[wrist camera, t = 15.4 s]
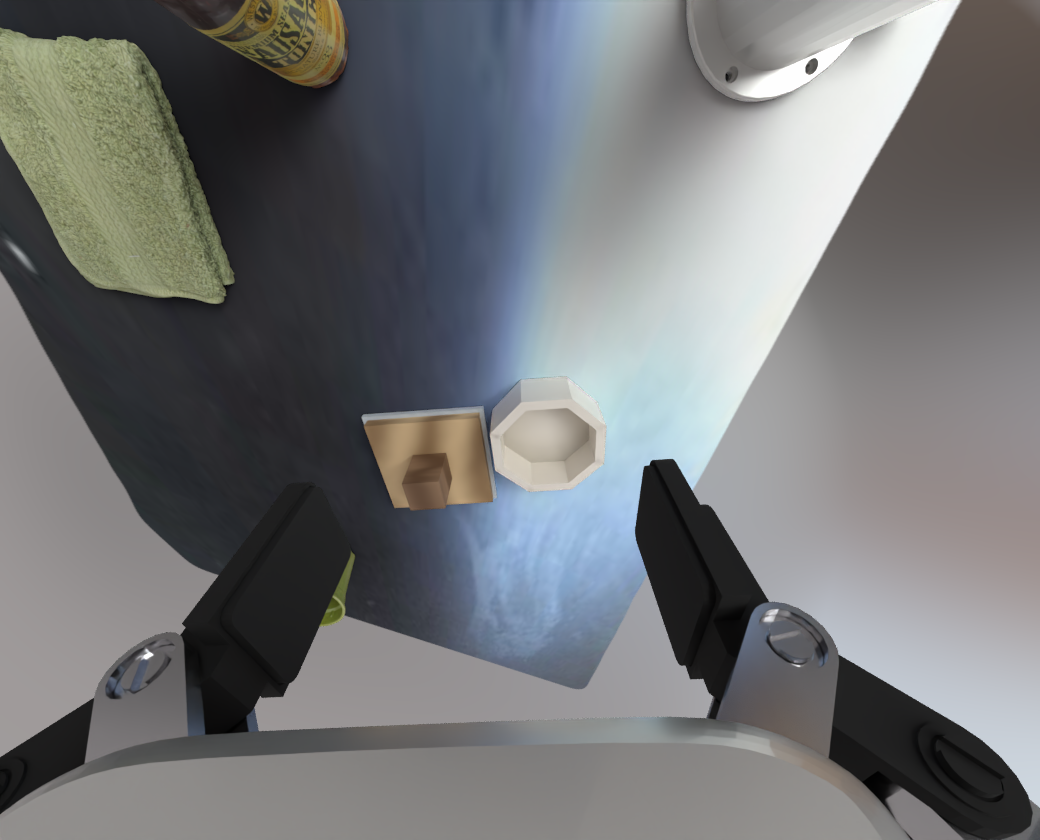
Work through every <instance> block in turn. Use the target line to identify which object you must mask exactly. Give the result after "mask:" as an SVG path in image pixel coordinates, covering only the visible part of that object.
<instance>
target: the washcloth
mask: <svg viewBox="0 0 1040 840" xmlns="http://www.w3.org/2000/svg"><path fill="white" fill-rule="evenodd" d="M161 86H162V83H161V80H160V78H159V75H158V73H157V71H156V70H155V69H154V68H153V67H152V65H151V64H150V62H149V60H148V58H147V57H146V56H145V54H144V53H143V52H142V51H141V50H140V48H139V47H138V46H137V45H135V44H134V43H129V42H128V41H126V40H116V39H112V40H109V41H108V40H104V39H97V38H93V39H89V41H84V40H83V39H80V38H77V37H71V36H68V37H66V36H62V37H57V41H55V40H49V39H37V38H35V39H34V38H29V37H27V36H26V35H24V34H22V33H19V32H13V31H11V30H9V29H1V28H0V136H1V139H2V141H3V143H4V145H5V147H6V149H7V151H8V153H9V154H10V155H11V157H12V158H13V160H14V161H15V163H16V165H17V166H18V168H19V170H20V172H21V174H22V175H23V177H24V179H25V180H26V182H27V184H28V185H29V187H30V189H31V190H32V192H33V194H34V195H35V197H36V199H37V201H38V202H39V204H40V206H41V207H42V209H43V211H44V214H45V216H46V218H47V220H48V222H49V224H50V225H51V227H52V229H53V232H54V234H55V236H56V238H57V240H58V242H59V244H60V246H61V248H62V249H63V251H64V253H65V254H66V256H67V257H68V259H69V260H70V262H71V263H72V264H73V265H74V266H75V267H76V268H77V269H78V270H79V272H80V274H82V275H83V276H84V278H85V279H87V281H89V282H90V283H92V284H93V285H95V286H96V287H99V288H104V289H115V290H121V291H126V292H130V293H136V294H142V295H146V296H151V297H157V298H159V297H163V298H166V297H174V296H176V297H186V298H192V299H197V300H201V301H203V302H207V303H214V304H218V303H222V302H223V301H224V296H227V295H226V294H225V293H226V290H225V288H224V287H223V285H228V284H233V283H234V282H235V281H234V277H233V275H234V273H233V272H232V269H231V268H230V266H229V261H228V259H227V254H226V253H225V250H224V249H223V247H222V245H221V240H220V236H219V234H218V231H217V229H216V227H215V223H214V222H213V220H212V216H211V215H210V208H209V206H208V204H207V201H206V197H205V195H204V194H203V190H202V189H201V188H202V187H201V185H200V182H199V180H198V179H197V178H196V176H197V174H196V173H195V171H194V165H193V163H192V161H191V160H190V158H189V153H188V151H187V149H188V148H187V145H186V144H185V143H184V141H183V139H184V137H182V135H181V134H180V133H179V129H178V124H177V123H176V122H175V117H174V116H173V115H172V108H171V105H170V103H169V101H168V99H167V98H166V95H165V94H164V91H163V89H162V87H161Z"/></svg>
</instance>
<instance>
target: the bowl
mask: <svg viewBox="0 0 1040 840" xmlns="http://www.w3.org/2000/svg"><path fill="white" fill-rule="evenodd" d="M490 438H491V445H492V452H493V458H494V465H495V471H497V472H498V473H500V474H501V475H503V476H505V477H506V478H508V479H509V480H511V481H513V482H514V483H516V484H517V485H519V486H520V487H522V488H524V489H525V490H527V491H528V492H535V491H551V490H567V489H573V488H574V487H575V486H577V485H578V484H579V483H580V482H582V481H583V480H584V479H585V478H587V477H588V476H589V475H590V474H592V473H593V472H594V471H595V470H597V469H598V468H599V467H600V466H602V465H603V464H604V456H605V439H606V424H605V421H604V418H603V416H602V413H601V410H600V408H599V405H598V402H597V401H596V400H594V399H593V398H592V397H591V396H590V395H588V394H587V393H586V392H585V391H583V390H582V389H581V388H580V387H579V386H577V385H576V384H575V383H574V382H572V381H571V380H570V379H569V378H568V377H566V376H563V377H549V378H535V379H522V380H520V381H519V382H518V383H517V384H516V385H515V386H514V387H513V388H512V389H511V390H510V391H509V392H508V393H507V394H506V396H505V397H504V398H503V399H502V400H501V401H500V402H499V403H498V404H497V405H496V406H495V407H494V408H493V409H492V418H491V428H490Z"/></svg>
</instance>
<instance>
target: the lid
mask: <svg viewBox="0 0 1040 840" xmlns="http://www.w3.org/2000/svg"><path fill="white" fill-rule="evenodd" d="M364 428H365V431H366V434H367V436H368V439H369V442H370V444H371V447H372V450H373V452H374V455H375V457H376V460H377V463H378V465H379V468H380V471H381V473H382V476H383V479H384V481H385V484H386V487H387V489H388V492H389V495H390V497H391V500H392V503H393V505H394V508H403V507H410V510H425V509H441V508H446V505H450V504H466V503H482V502H493V491H492V485H491V479H490V473H489V467H488V461H487V455H486V449H485V443H484V437H483V431H482V425H481V419H480V412H478V413H464V414H450V415H436V416H423V417H409V418H395V419H381V420H367V422H366V424H365V425H364Z"/></svg>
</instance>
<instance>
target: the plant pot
mask: <svg viewBox="0 0 1040 840" xmlns="http://www.w3.org/2000/svg"><path fill="white" fill-rule="evenodd" d="M354 560H355V555H354V554H353V553H352V551H351V556H350V559H349V561H348V564H347V566H346V568H345V570H344V572H343V575H342V577H341V579H340V581H339V584H338V586H337V588H336V590H335V593H334V595H333V597H332V599H331V602H330V604H329V606H328V608H327V610H326V613H325V615H324V617H323V619H322V622H321V624H320V626H328V625H332V624H334V623H337V622H339V621H340V620H341V619H342V618H343V617H344V615H345V605H344V604H345V594H346V590H347V586H348V582H349V579H350V575H351V571H352V567H353V563H354Z"/></svg>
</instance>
